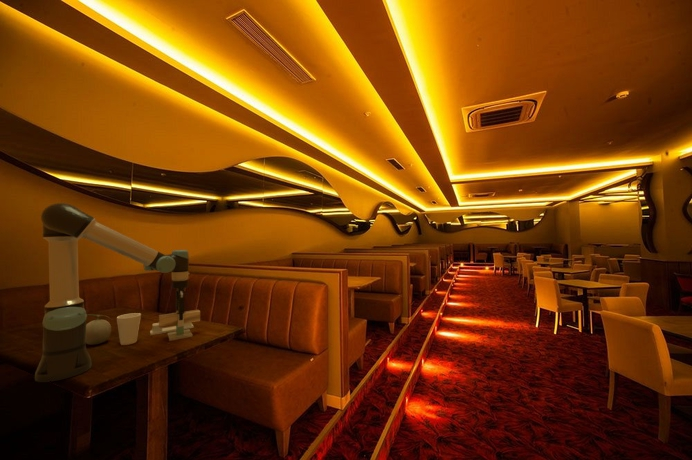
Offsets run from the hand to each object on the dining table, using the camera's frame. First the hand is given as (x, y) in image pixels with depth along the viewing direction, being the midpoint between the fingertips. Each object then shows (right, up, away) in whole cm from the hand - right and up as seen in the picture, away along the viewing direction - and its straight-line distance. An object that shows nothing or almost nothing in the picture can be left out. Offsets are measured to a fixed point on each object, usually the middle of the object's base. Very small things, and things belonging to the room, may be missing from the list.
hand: (179, 324), depth 146 cm
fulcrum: (0, -6, 0) cm, 6 cm away
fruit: (-34, -6, -10) cm, 36 cm away
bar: (0, +1, 0) cm, 1 cm away
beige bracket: (-10, -6, +10) cm, 15 cm away
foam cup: (-20, -6, -9) cm, 22 cm away
